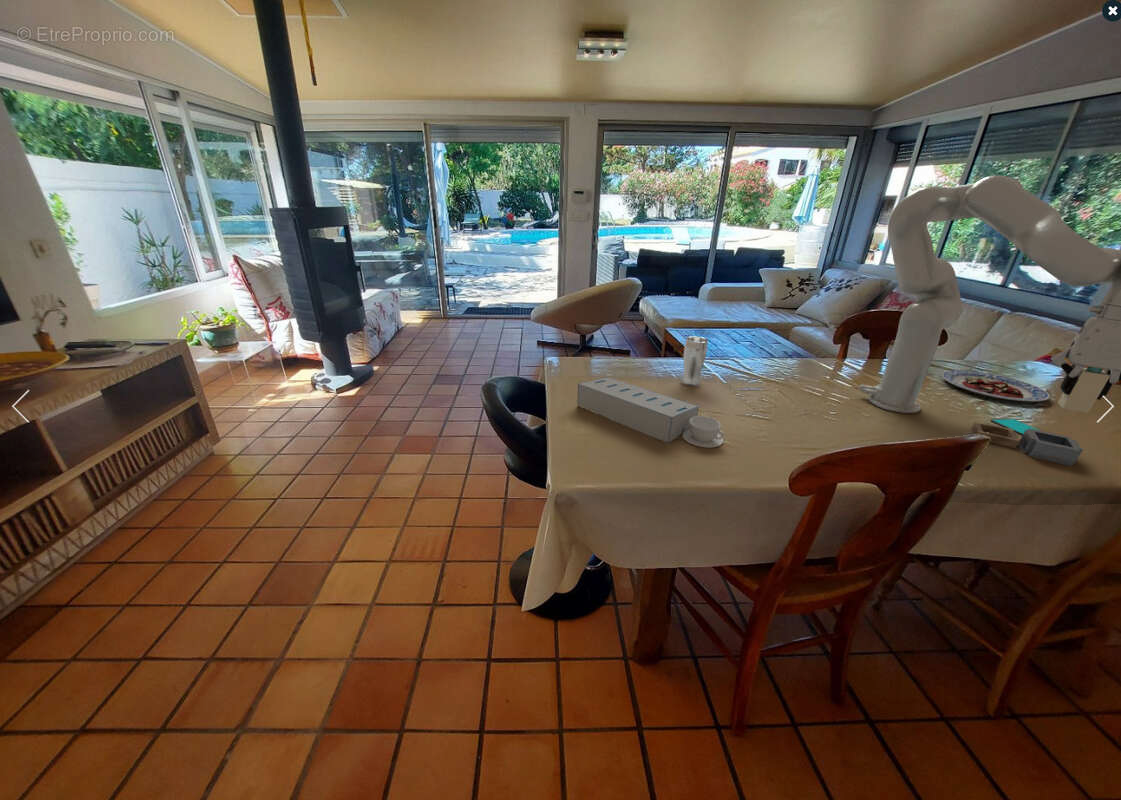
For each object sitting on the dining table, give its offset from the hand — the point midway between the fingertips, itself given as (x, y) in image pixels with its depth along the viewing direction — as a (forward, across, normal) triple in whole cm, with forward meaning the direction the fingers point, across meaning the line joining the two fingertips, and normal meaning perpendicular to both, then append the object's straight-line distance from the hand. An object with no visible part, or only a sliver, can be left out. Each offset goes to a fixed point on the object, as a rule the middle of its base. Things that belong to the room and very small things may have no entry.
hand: (1080, 394), depth 95 cm
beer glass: (+15, -85, -9) cm, 87 cm away
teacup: (+16, -69, -43) cm, 83 cm away
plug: (+3, 0, 0) cm, 3 cm away
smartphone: (+16, -1, +12) cm, 21 cm away
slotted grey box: (+16, -89, -42) cm, 100 cm away
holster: (+16, -9, +3) cm, 18 cm away
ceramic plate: (+16, -4, +47) cm, 50 cm away
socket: (+16, 0, 0) cm, 16 cm away
